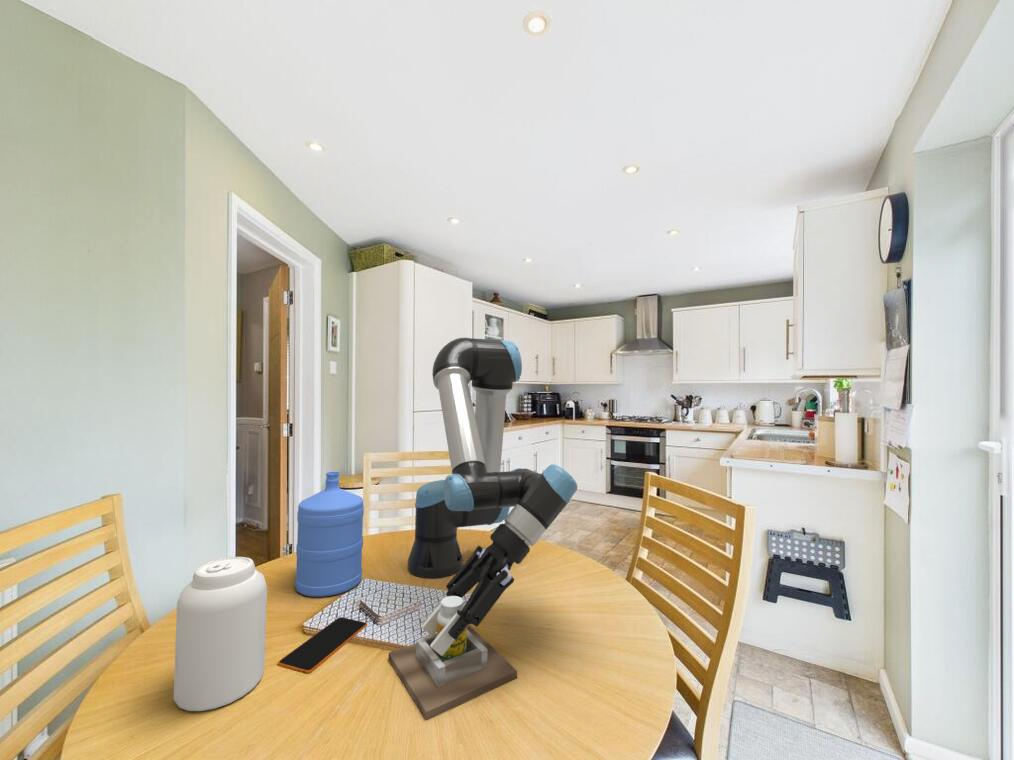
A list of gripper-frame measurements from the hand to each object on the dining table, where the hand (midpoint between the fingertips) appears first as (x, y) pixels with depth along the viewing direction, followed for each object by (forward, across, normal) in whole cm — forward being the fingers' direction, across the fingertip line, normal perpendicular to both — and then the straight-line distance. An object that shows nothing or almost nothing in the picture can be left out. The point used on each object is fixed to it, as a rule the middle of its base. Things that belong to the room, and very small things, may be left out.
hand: (431, 640), depth 74 cm
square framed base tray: (+2, 0, -7) cm, 7 cm away
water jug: (+15, +43, +6) cm, 46 cm away
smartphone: (+16, +17, +7) cm, 24 cm away
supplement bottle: (0, 0, -5) cm, 5 cm away
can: (+27, +11, +19) cm, 35 cm away
